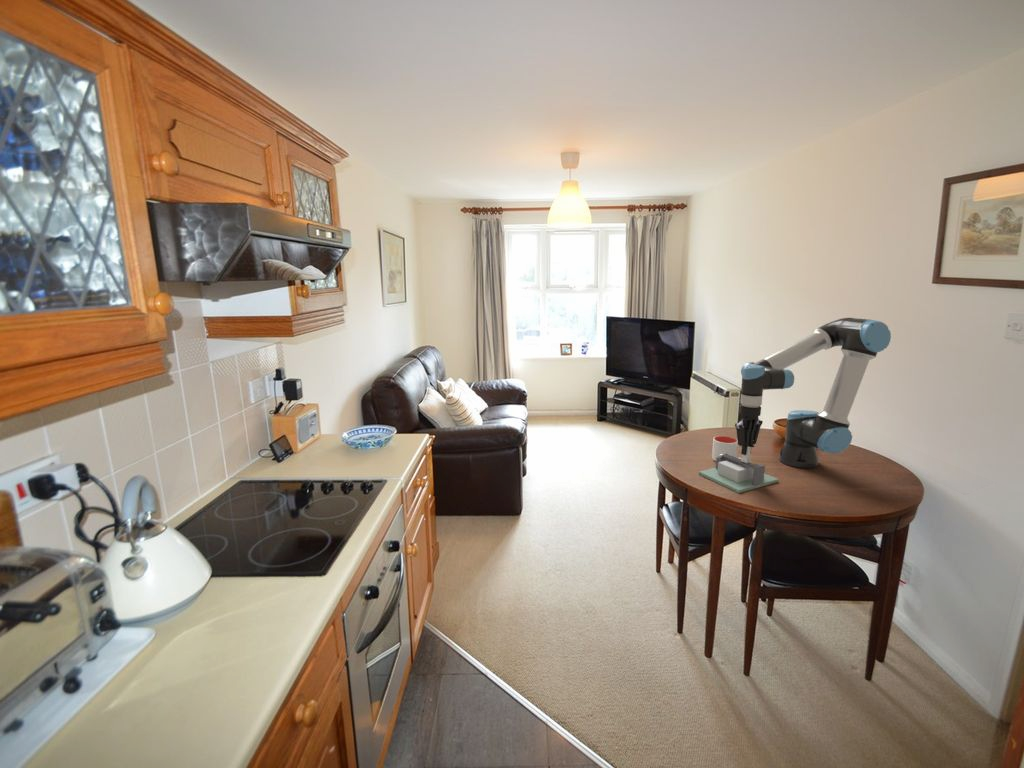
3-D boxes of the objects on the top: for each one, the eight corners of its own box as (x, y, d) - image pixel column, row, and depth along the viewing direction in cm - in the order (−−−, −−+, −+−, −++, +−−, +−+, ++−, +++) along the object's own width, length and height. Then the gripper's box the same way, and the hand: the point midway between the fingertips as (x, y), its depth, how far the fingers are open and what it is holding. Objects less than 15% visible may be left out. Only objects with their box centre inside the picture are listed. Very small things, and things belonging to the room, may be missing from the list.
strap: (725, 455, 205) (725, 452, 205) (760, 466, 190) (760, 464, 190) (718, 457, 203) (718, 454, 203) (752, 468, 188) (752, 466, 188)
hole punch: (736, 464, 211) (738, 446, 209) (778, 481, 194) (780, 461, 192) (698, 474, 202) (700, 455, 201) (738, 493, 185) (740, 472, 183)
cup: (737, 466, 210) (739, 444, 208) (712, 463, 213) (714, 442, 211) (734, 457, 219) (736, 436, 217) (711, 455, 222) (712, 435, 220)
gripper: (754, 400, 194) (748, 456, 199) (730, 404, 189) (725, 461, 194) (770, 405, 187) (764, 462, 192) (746, 409, 182) (741, 468, 187)
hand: (745, 461), depth 193 cm, fingers closed
